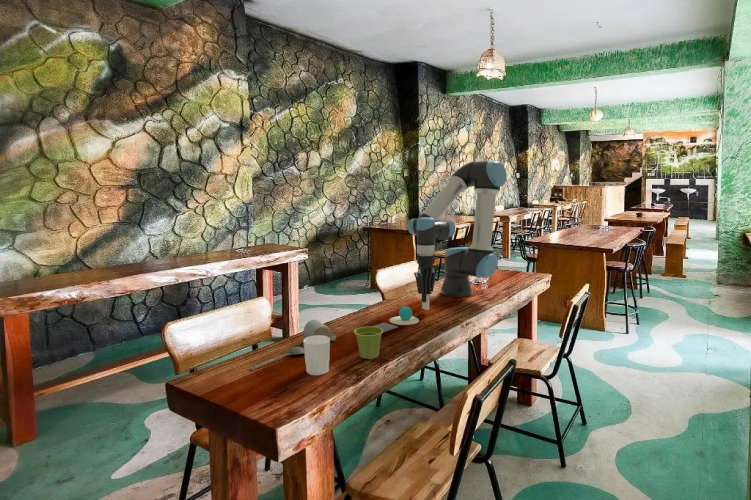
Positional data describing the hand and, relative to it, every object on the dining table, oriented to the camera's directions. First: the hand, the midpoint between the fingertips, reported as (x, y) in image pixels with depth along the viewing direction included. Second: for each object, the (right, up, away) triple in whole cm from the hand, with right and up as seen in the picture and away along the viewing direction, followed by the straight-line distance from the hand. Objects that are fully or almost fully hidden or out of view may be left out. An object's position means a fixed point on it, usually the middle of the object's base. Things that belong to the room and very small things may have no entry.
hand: (425, 308), depth 203 cm
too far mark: (-18, -5, -18) cm, 26 cm away
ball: (-9, -1, -9) cm, 13 cm away
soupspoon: (-52, -11, -49) cm, 72 cm away
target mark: (-10, -4, -10) cm, 14 cm away
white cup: (-39, -12, -59) cm, 71 cm away
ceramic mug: (-41, -8, -33) cm, 53 cm away
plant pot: (-24, -10, -47) cm, 54 cm away
